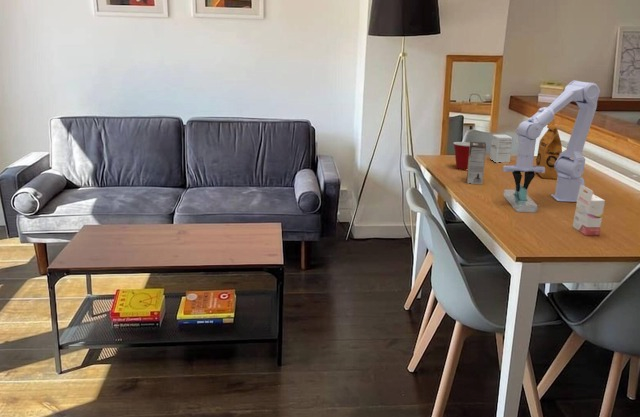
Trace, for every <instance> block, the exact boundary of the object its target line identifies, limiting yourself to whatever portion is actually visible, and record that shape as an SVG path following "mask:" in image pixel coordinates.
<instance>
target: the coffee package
mask: <svg viewBox="0 0 640 417" xmlns="http://www.w3.org/2000/svg"><path fill="white" fill-rule="evenodd" d="M546 127H547V131H546V132H545V133H544V134H543V136H542V137H541V138H540V140H539V144H538V149H537V157H536V159H535V166H540V167H545V173H541V172H536V173H537V174H538V175H539V176H540V178H542V179H547V180H557V177H558V175H557V171H556V170H555V167H554V166H555V162H556V160H557V159H558V158H559V156H560V153H561V152H563V146H562V140H561V137H560V135H559V131H558V127H557V126H555V125H553V124H551V123H549V124H547V125H546Z"/></svg>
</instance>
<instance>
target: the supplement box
mask: <svg viewBox="0 0 640 417" xmlns="http://www.w3.org/2000/svg"><path fill="white" fill-rule="evenodd" d="M491 136H492V137H491V145H490V146H491V147H490V155H489V160H490V159H491V160H493V161H494V162H510V163H511V154H512V147H513V139H514V138H513V137H512V136H510V135H508V134H492V135H491ZM491 160H490V161H491ZM493 161H492V162H493ZM494 162H493V163H494Z"/></svg>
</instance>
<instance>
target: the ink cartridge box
mask: <svg viewBox="0 0 640 417" xmlns="http://www.w3.org/2000/svg"><path fill="white" fill-rule="evenodd" d="M585 191H586V192H587V193H586V192H585ZM605 202H606V200H605V199H603V198H601V197H599V196H597V195H595V194H594V190H592V189H590V188H589V187H587V186H586V185H585V186H583V185H580V189H579V193H578V198H577V202H576V206H575V212H574V217H573V222H572V227H573V228H574V229H575V230H577V231H578V232H580V233H581V234H583V235H584V236H600V232H601V225H602V220H603V214H604V210H605V209H604V208H605Z"/></svg>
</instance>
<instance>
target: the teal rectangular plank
mask: <svg viewBox="0 0 640 417" xmlns="http://www.w3.org/2000/svg"><path fill="white" fill-rule="evenodd" d="M523 186H524V185H523V184H520V190H519V192H517V191H516V187H515V189H514V190H515V196H519V201H526V196H527V195H528V188H527V189H526V188H524V187H523Z"/></svg>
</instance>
